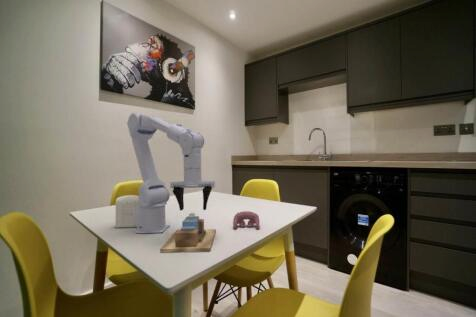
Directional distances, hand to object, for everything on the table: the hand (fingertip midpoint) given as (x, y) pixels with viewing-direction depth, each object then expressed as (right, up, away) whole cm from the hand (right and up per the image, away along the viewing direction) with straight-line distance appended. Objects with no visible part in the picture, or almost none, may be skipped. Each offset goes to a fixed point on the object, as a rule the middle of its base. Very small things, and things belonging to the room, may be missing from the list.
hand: (193, 209), depth 71 cm
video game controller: (+18, -9, +9) cm, 22 cm away
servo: (0, -8, -3) cm, 9 cm away
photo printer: (-28, -10, +14) cm, 33 cm away
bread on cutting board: (0, -9, -3) cm, 10 cm away
